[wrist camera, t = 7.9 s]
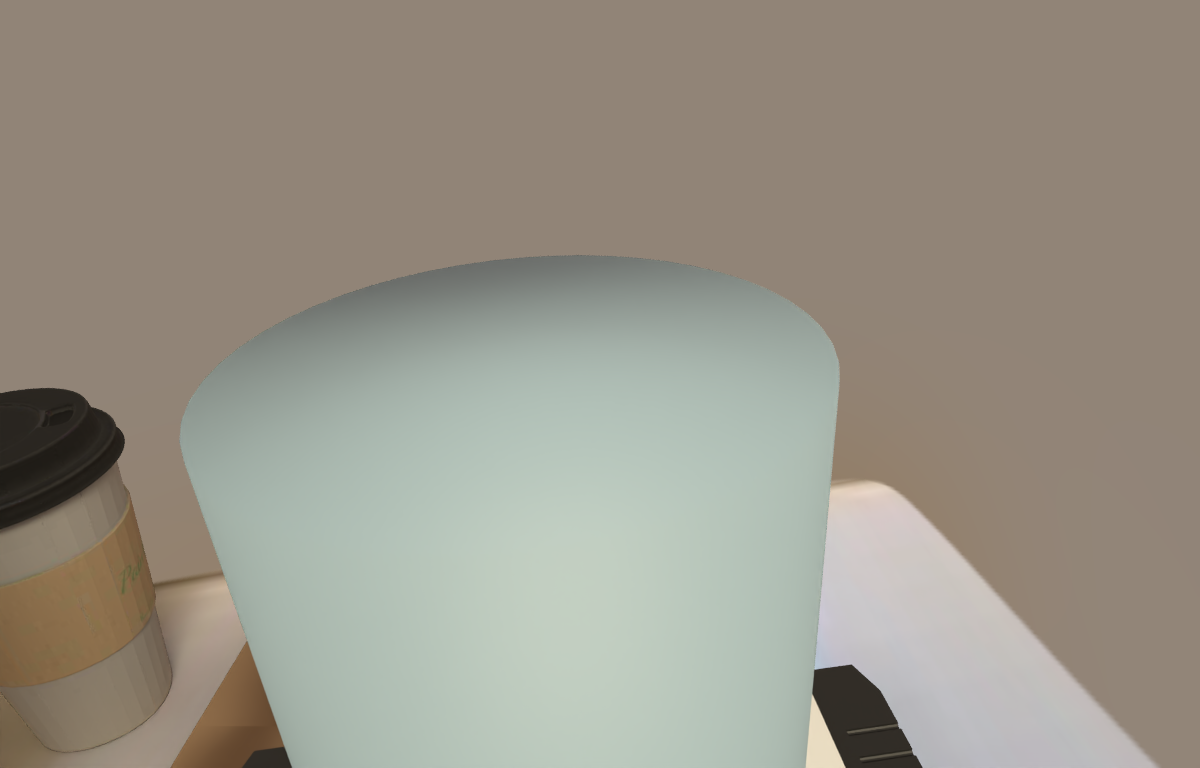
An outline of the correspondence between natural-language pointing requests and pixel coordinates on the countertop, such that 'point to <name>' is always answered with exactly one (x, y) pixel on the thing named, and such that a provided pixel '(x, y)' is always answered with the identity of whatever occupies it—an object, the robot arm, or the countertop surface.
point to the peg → (528, 516)
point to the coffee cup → (73, 577)
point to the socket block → (232, 721)
